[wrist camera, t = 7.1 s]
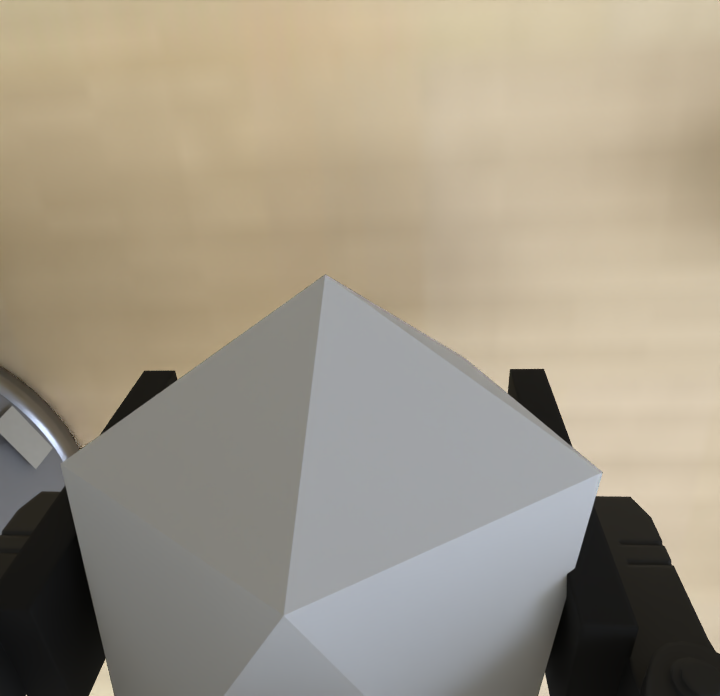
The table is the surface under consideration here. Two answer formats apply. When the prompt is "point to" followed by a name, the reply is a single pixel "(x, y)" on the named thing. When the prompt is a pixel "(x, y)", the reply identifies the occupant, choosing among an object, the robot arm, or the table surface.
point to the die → (329, 519)
